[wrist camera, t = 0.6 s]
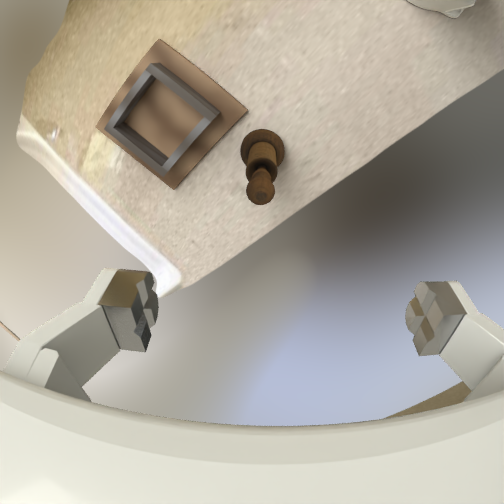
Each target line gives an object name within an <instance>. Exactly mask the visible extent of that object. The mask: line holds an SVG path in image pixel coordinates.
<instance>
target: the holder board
mask: <svg viewBox="0 0 504 504" xmlns="http://www.w3.org/2000/svg"><path fill="white" fill-rule="evenodd" d="M247 111H248V109H246V108H245V107H244V106H243V105H242V104H241V103H240V102H239V101H237V100H236V99H235V98H234V97H233V96H232V95H230V94H229V93H228V92H227V91H226V90H225V89H223V88H222V87H221V86H220V85H219V84H217V83H216V82H215V81H214V80H213V79H211V78H210V77H209V76H208V75H206V74H205V73H204V72H203V71H201V70H200V69H199V68H198V67H196V66H195V65H194V64H193V63H191V62H190V61H189V60H187V59H186V58H185V57H184V56H182V55H181V54H180V53H178V52H177V51H176V50H174V49H173V48H172V47H170V46H169V45H168V44H166V43H165V42H163V41H162V40H161V39H158V40H157V41H156V42H155V44H154V45H153V46H152V47H151V48H150V50H149V51H148V52H147V53H146V55H145V56H144V57H143V58H142V60H141V61H140V62H139V64H138V65H137V66H136V68H135V69H134V70H133V72H132V73H131V74H130V76H129V77H128V78H127V80H126V81H125V82H124V84H123V85H122V87H121V88H120V90H119V91H118V93H117V94H116V95H115V97H114V98H113V100H112V101H111V103H110V104H109V106H108V108H107V109H106V111H105V112H104V114H103V115H102V117H101V119H100V120H99V122H98V123H97V125H96V128H97V129H98V130H100V131H101V132H102V133H103V134H105V135H106V136H107V137H108V138H110V139H111V140H112V141H113V142H115V143H116V144H117V145H118V146H120V147H121V148H122V149H123V150H125V151H126V152H127V153H128V154H130V155H131V156H132V157H133V158H135V159H136V160H137V161H138V162H140V163H141V164H142V165H143V166H144V167H146V168H147V169H148V170H149V171H151V172H152V173H153V174H154V175H156V176H157V177H158V178H159V179H161V180H162V181H163V182H164V183H166V184H167V185H168V186H169V187H171V188H172V189H173V190H174V189H175V188H176V187H177V186H178V185H179V183H180V182H181V181H182V180H183V179H184V178H185V177H186V175H187V174H188V173H189V172H190V171H191V170H192V169H193V167H194V166H195V165H196V164H197V163H198V162H199V161H200V160H201V159H202V157H203V156H204V155H205V154H206V153H207V152H208V151H209V150H210V149H211V148H212V147H213V146H214V144H215V143H216V142H217V141H218V140H219V139H220V138H221V137H222V136H223V135H224V134H225V133H226V132H227V131H228V130H229V129H230V128H231V127H232V126H233V125H234V124H235V123H236V122H237V121H238V120H239V119H240V118H241V117H242V116H243V115H244V114H245V113H246V112H247Z"/></svg>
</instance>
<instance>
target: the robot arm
mask: <svg viewBox="0 0 504 504" xmlns="http://www.w3.org/2000/svg"><path fill="white" fill-rule="evenodd" d="M407 1H408V2H410V3H412V4H414V5H416V6H418V7H420V8H423V9H426V10H432V11H438V12H441V13H443V14H444V15H446V16H448V17H450V18H458V17H459V16H460V14H461V13H462V12H463V10H464V9H465V8H467V7H472V6H474V5H475V4H474V2H475V1H476V0H407ZM153 284H154V280H153V276H152V273H150V272H147V271H136V270H125V269H112V268H105V269H103V270H102V271H101V273H100V274H99V276H98V277H97V279H96V280H95V282H94V284H93V285H92V287H91V288H90V290H89V292H88V293H87V295H86V297H85V298H84V300H83V302H82V303H76V304H75V305H73V306H71V307H70V308H68V309H67V310H65V311H63V312H62V313H60V314H59V315H57V316H56V317H54V318H53V319H51V320H49V321H48V322H46V323H45V324H43V325H42V326H40V327H39V328H37V329H35V330H34V331H32V332H31V333H29V334H28V335H26V336H25V337H23V338H22V339H20V341H19V343H18V344H17V346H16V348H15V350H14V351H13V353H12V355H11V357H10V358H9V360H8V362H7V364H6V366H5V368H4V370H3V371H0V504H504V329H502V328H501V327H500V326H499V325H497V324H496V323H494V322H493V321H492V320H491V319H489V318H488V317H487V316H485V315H484V314H482V313H478V311H477V309H476V308H475V306H474V304H473V303H472V301H471V300H470V298H469V296H468V295H467V293H466V292H465V290H464V289H463V287H462V286H461V284H460V283H459V282H457V281H444V282H420V283H418V284H417V286H416V288H415V290H414V293H415V298H413V299H412V300H411V301H410V302H409V304H408V306H407V309H406V315H405V319H406V325H407V327H408V330H409V331H411V332H412V333H413V334H414V338H413V342H414V345H415V347H416V350H417V352H418V355H419V356H427V355H436V354H440V355H439V356H440V357H441V358H442V359H443V360H444V361H445V362H446V363H447V364H448V365H449V366H450V367H451V369H453V371H454V372H455V373H456V374H457V375H458V376H459V377H460V378H461V379H462V381H463V382H464V383H465V384H466V385H467V386H468V387H469V388H470V389H471V391H472V392H471V393H470V394H469V395H468V396H467V397H466V398H465V400H464V402H463V403H459V404H456V405H452V406H448V407H444V408H439V409H435V410H430V411H426V412H421V413H415V414H410V415H404V416H399V417H392V418H386V419H379V420H371V421H363V422H353V423H342V424H329V425H310V426H250V425H231V424H216V423H206V422H196V421H187V420H180V419H173V418H166V417H160V416H153V415H148V414H142V413H137V412H132V411H127V410H122V409H118V408H113V407H109V406H104V405H101V404H97V403H93V402H91V400H90V398H89V397H88V395H87V394H86V393H85V391H84V390H83V388H82V386H83V385H84V384H85V383H86V382H87V381H89V379H91V377H93V376H94V375H95V374H96V373H97V372H98V371H99V370H100V369H101V368H102V367H103V366H104V365H105V364H106V363H107V362H108V361H110V360H111V359H112V358H113V357H114V356H115V355H116V354H117V353H118V352H119V351H120V349H122V350H131V351H139V352H146V350H147V347H148V344H149V341H150V338H151V332H150V329H149V328H151V327H152V326H153V325H155V323H156V320H157V316H158V308H159V307H158V298H157V294H156V293H155V292H154V291H153V290H152V287H153Z"/></svg>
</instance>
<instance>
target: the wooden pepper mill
mask: <svg viewBox="0 0 504 504" xmlns="http://www.w3.org/2000/svg"><path fill="white" fill-rule="evenodd" d="M240 152H241V158H242V160H243V162H244V163H245V165H246V166H247V168H246V177H247V179H248V181H249V183H248V185H247V189H246V193H247V196H248V198H249V200H250V201H251V202H253V203H254V204H257V205H264V204H267V203H269V202H270V201H271V200H272V199H273V197H274V194H275V188H274V185H273V182H274V181H275V179H276V177H277V167H278V166H279V165H280V164H281V162H282V161H283V158H284V145H283V142H282V140H281V139H280V137H279V136H278V135H277V134H275V133H274V132H272V131H269V130H265V129H259V130H255V131H252V132H250V133H249V134H248V135H247V136H246V137H245V138H244V140H243V142H242V145H241V151H240Z"/></svg>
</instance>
